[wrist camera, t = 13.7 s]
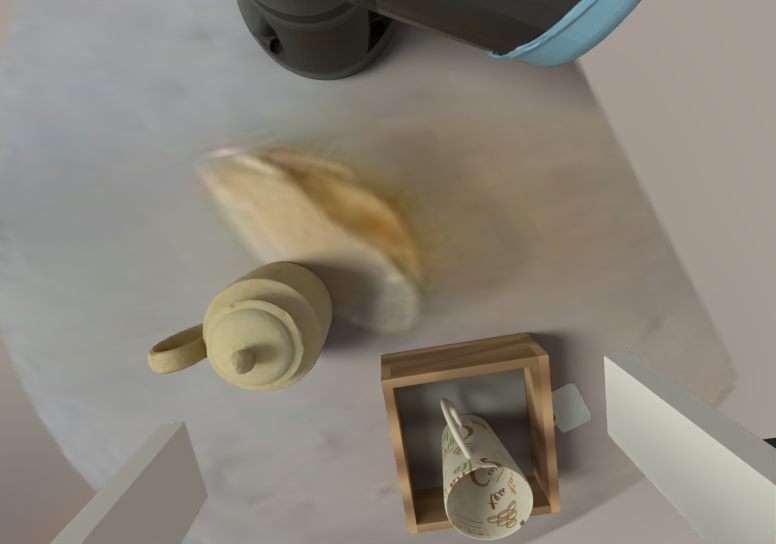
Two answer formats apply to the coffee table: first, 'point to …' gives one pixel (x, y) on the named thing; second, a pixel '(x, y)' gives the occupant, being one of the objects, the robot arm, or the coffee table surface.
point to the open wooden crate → (470, 397)
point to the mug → (481, 479)
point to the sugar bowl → (256, 330)
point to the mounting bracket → (569, 408)
